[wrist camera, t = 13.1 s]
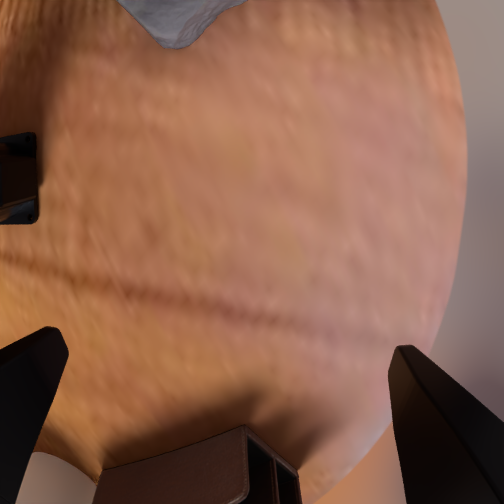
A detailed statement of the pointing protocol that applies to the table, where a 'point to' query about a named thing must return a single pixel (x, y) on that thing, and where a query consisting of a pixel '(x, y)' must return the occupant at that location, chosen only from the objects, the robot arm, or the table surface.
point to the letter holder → (205, 475)
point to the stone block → (176, 18)
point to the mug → (54, 482)
